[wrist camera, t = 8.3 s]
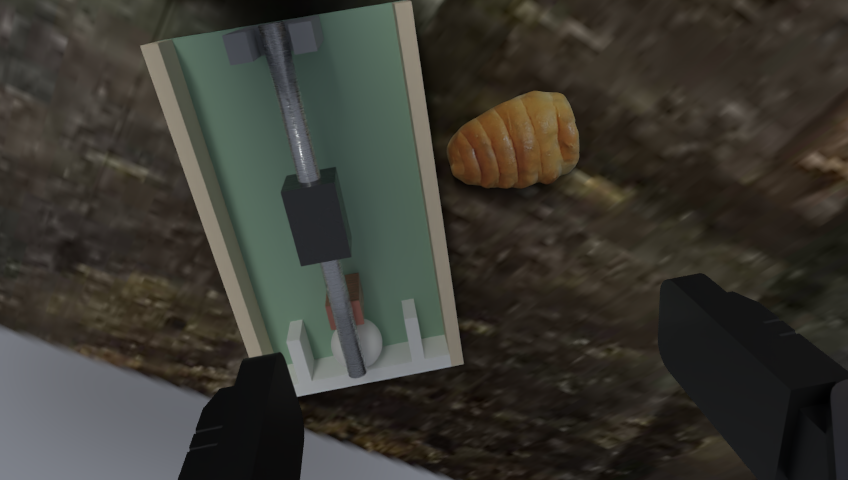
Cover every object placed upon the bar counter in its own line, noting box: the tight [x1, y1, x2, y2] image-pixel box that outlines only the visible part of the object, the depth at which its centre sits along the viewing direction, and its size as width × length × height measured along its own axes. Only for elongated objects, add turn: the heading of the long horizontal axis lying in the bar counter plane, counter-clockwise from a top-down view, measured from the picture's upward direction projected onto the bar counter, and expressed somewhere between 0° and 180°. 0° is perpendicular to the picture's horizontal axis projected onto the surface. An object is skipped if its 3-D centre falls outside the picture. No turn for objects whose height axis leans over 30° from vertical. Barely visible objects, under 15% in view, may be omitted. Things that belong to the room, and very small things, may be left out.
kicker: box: [258, 21, 367, 378], centre depth 37 cm, size 24×3×6 cm, turn 8°
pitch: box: [140, 0, 464, 397], centre depth 38 cm, size 27×16×8 cm, turn 8°
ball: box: [331, 319, 382, 367], centre depth 43 cm, size 4×4×4 cm
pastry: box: [447, 91, 579, 189], centre depth 40 cm, size 9×7×4 cm
